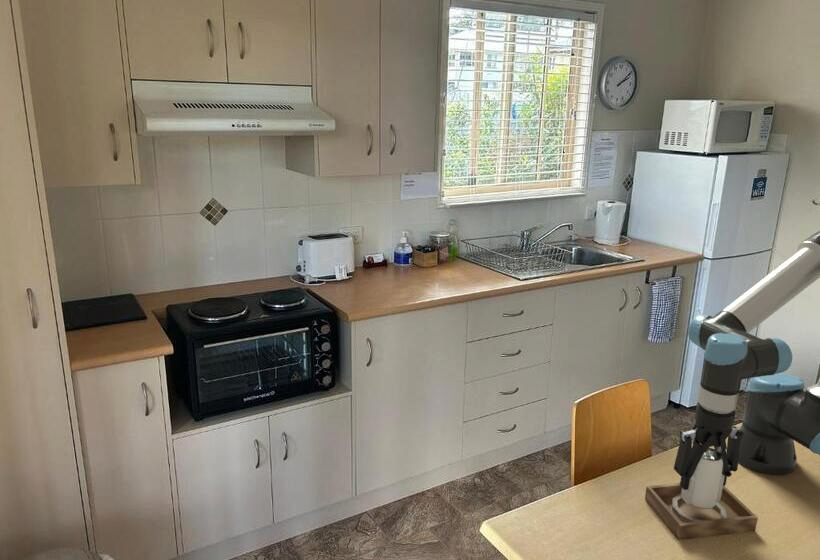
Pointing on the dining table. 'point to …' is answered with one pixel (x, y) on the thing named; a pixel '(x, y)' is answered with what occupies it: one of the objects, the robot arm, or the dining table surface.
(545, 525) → the dining table surface
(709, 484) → the can
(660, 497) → the walled box
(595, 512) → the dining table surface
